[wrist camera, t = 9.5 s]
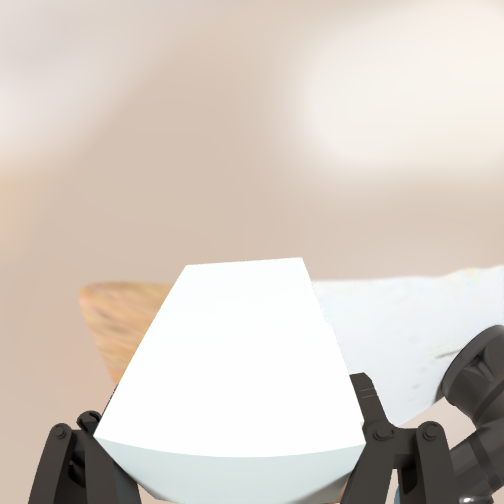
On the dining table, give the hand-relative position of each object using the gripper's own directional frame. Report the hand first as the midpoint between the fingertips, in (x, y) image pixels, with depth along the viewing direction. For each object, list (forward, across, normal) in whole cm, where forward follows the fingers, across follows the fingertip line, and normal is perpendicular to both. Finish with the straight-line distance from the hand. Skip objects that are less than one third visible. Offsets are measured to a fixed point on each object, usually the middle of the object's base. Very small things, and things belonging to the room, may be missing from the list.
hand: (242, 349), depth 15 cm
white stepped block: (+6, 0, -9) cm, 10 cm away
